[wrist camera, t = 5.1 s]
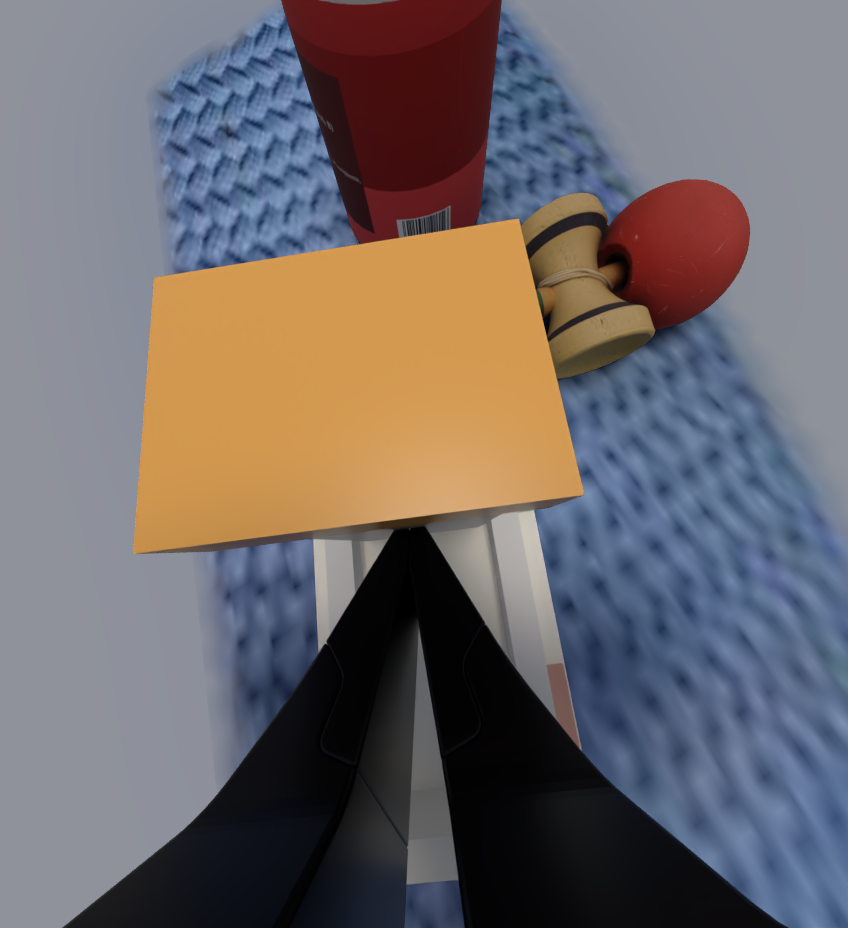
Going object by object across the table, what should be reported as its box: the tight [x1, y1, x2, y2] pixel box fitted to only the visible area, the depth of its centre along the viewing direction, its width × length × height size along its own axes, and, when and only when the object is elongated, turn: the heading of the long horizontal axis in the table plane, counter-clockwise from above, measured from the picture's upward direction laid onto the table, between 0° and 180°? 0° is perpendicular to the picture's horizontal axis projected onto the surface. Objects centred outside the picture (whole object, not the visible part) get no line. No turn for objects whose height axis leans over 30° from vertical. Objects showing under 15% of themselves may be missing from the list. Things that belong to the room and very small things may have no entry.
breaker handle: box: [133, 219, 584, 554], centre depth 9 cm, size 3×5×10 cm
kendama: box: [521, 180, 750, 379], centre depth 17 cm, size 8×6×18 cm
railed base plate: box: [313, 510, 582, 885], centre depth 14 cm, size 16×9×5 cm, turn 7°
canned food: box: [281, 0, 502, 244], centre depth 16 cm, size 8×8×11 cm
